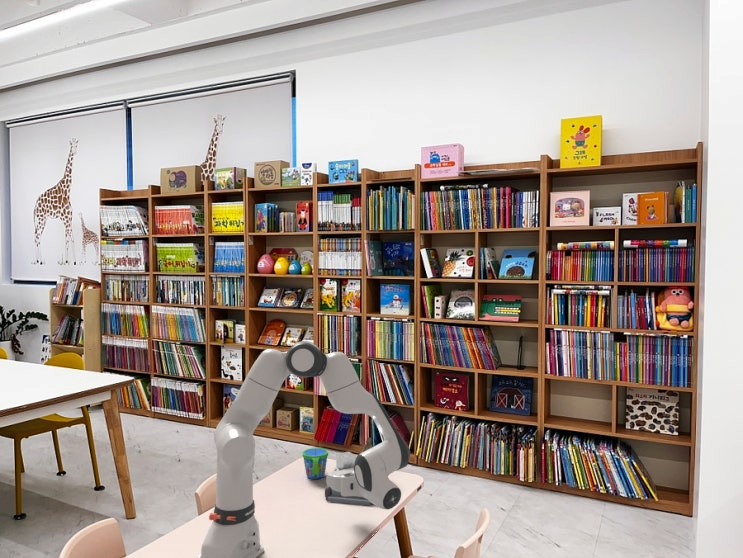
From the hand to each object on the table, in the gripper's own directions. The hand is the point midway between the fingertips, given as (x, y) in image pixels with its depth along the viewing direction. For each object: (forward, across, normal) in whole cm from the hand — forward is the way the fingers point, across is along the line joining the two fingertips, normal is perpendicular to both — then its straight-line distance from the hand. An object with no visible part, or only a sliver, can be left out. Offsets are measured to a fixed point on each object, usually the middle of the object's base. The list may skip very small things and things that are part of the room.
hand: (344, 468), depth 191 cm
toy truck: (+15, -13, +17) cm, 26 cm away
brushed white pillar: (-1, 0, +6) cm, 6 cm away
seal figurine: (+29, -24, +17) cm, 41 cm away
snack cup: (+37, -7, +17) cm, 42 cm away
